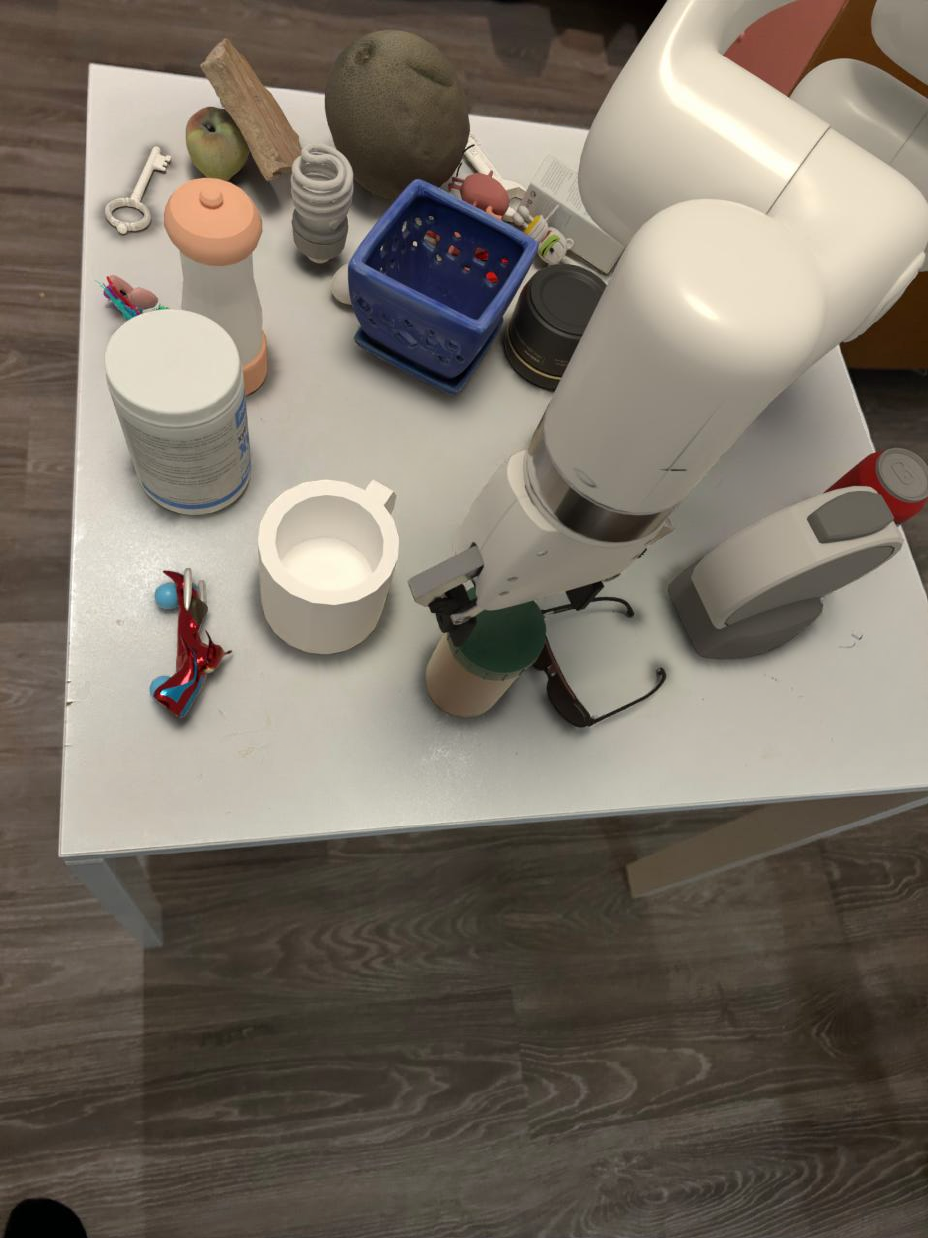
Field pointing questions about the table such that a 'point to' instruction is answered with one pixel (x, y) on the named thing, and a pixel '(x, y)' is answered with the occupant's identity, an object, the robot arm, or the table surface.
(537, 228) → the toy
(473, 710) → the jam jar
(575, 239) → the cosmetic box
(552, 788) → the table surface
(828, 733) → the table surface
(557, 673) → the sunglasses
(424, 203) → the flower pot
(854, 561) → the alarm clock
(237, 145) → the apple
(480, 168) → the wrench
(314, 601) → the mug
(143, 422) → the supplement tub
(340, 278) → the egg
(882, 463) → the beverage can
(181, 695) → the hoverbike
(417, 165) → the cantaloupe
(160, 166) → the key
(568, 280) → the jar
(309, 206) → the light bulb
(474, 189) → the figurine
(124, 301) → the anatomy model
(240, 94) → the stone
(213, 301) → the salt shaker
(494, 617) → the lid
